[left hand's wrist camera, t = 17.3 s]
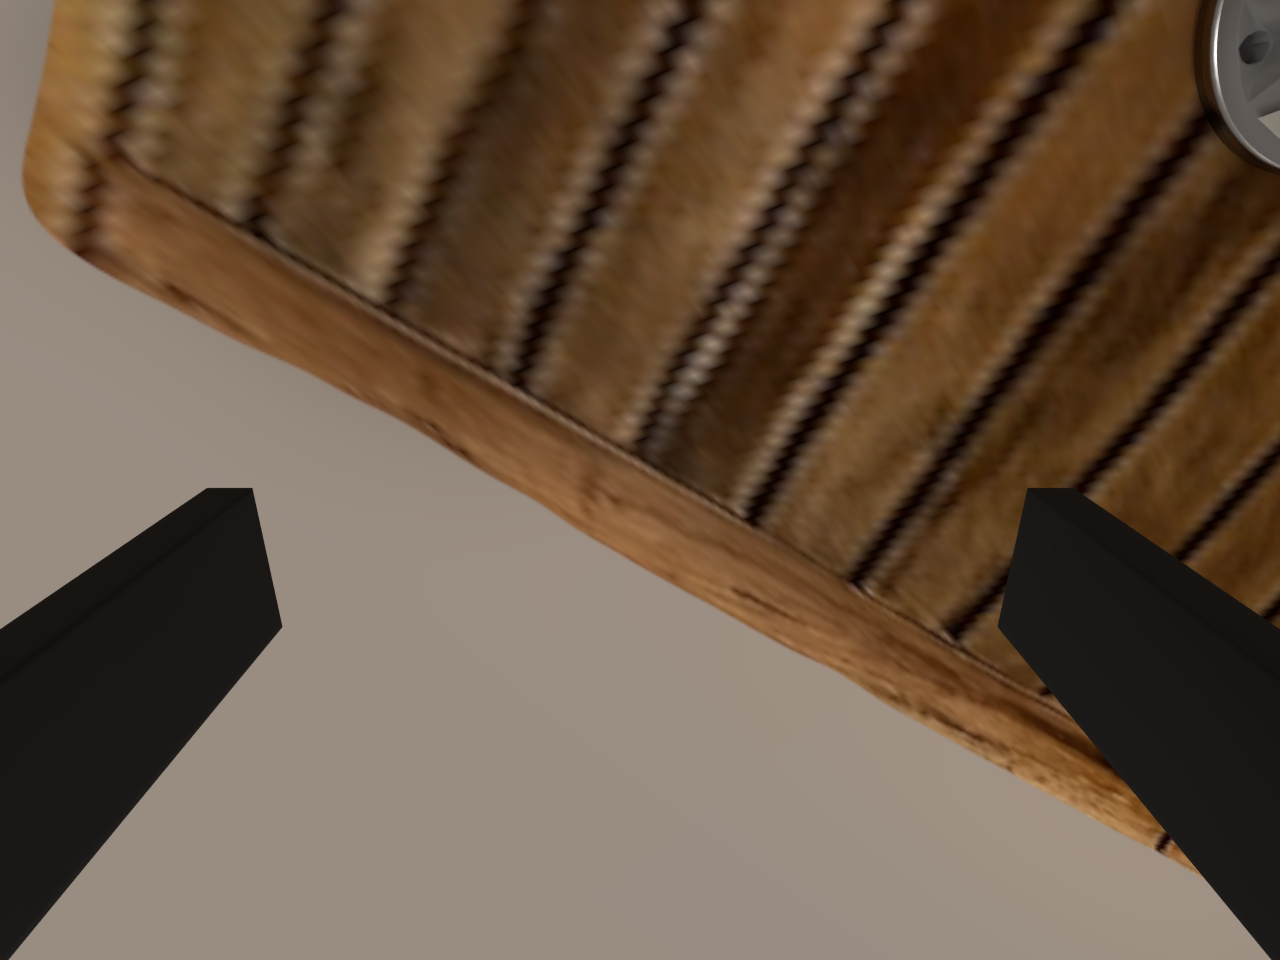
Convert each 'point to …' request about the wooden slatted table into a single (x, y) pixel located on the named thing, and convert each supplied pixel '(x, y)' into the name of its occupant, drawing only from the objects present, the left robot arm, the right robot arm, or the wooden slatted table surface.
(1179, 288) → the wooden slatted table surface
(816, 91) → the wooden slatted table surface
